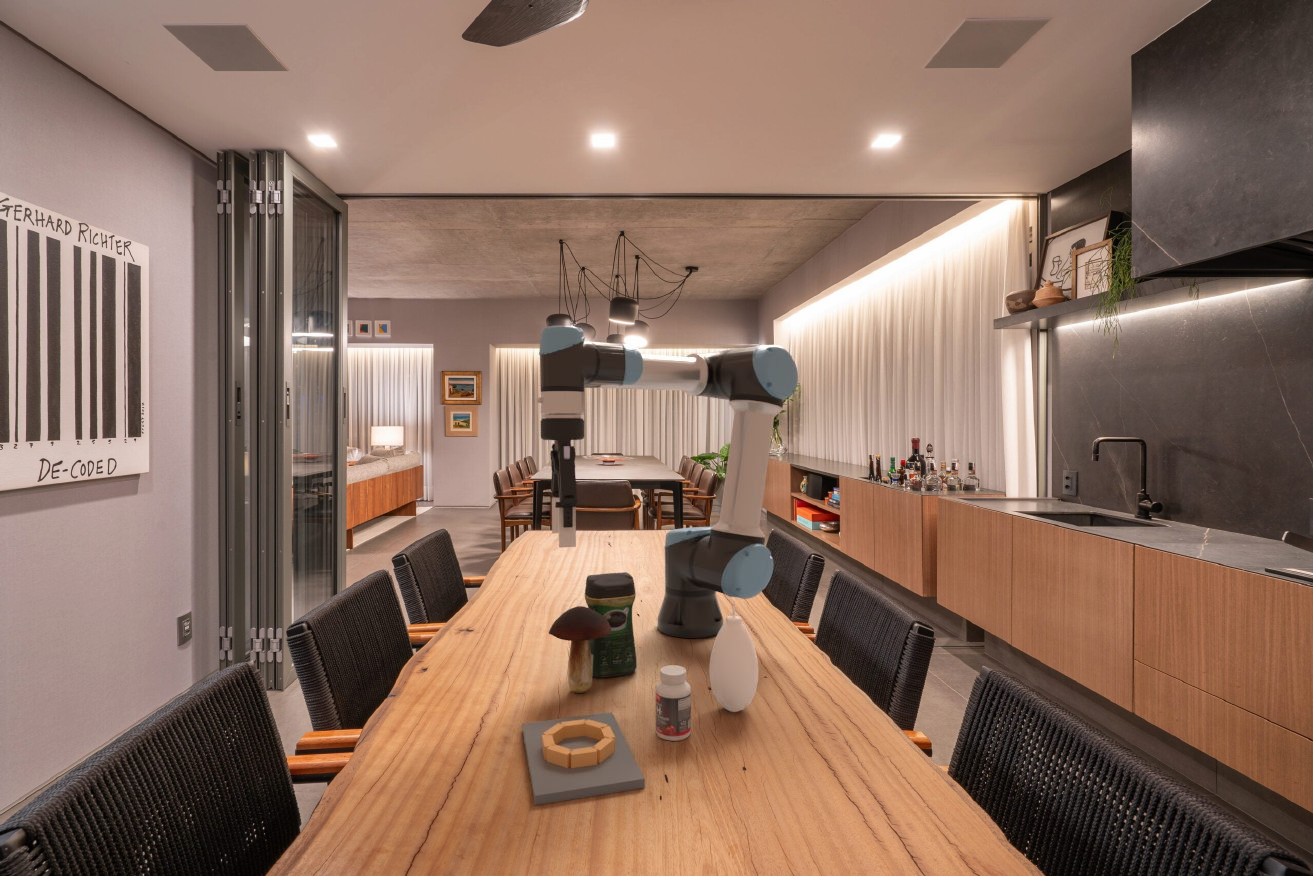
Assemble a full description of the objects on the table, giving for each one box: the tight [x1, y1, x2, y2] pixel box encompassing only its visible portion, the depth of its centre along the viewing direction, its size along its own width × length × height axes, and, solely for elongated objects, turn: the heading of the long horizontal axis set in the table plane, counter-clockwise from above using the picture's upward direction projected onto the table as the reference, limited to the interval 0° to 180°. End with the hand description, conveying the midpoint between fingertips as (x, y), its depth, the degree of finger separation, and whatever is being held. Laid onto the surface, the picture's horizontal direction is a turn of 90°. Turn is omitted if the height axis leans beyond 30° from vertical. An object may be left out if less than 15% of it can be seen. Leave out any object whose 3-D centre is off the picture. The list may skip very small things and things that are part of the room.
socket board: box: [521, 711, 646, 806], centre depth 91 cm, size 14×20×3 cm
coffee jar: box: [584, 571, 638, 678], centre depth 123 cm, size 10×8×19 cm
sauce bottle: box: [708, 601, 759, 713], centre depth 106 cm, size 8×8×18 cm
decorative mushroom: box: [548, 605, 612, 694], centre depth 113 cm, size 11×11×15 cm
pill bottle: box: [655, 664, 692, 742], centre depth 98 cm, size 5×5×10 cm
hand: (563, 539), depth 112 cm, fingers open, 13 cm apart
